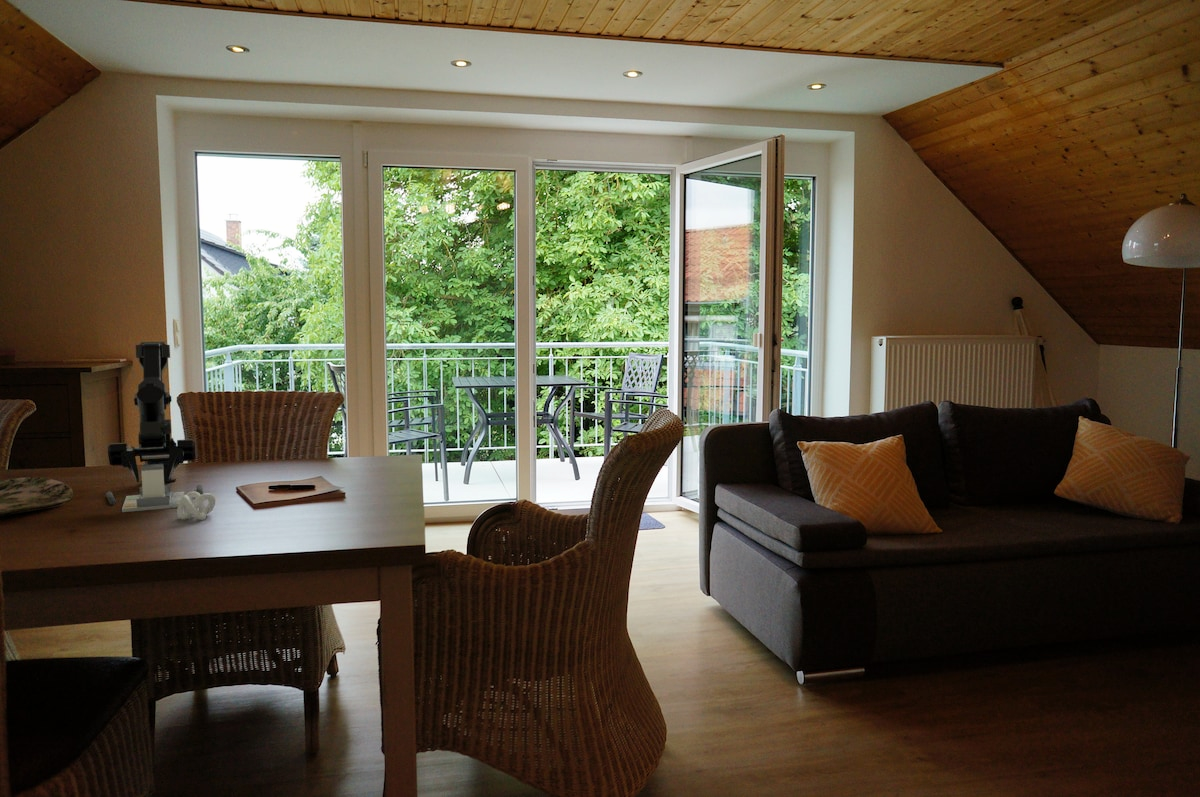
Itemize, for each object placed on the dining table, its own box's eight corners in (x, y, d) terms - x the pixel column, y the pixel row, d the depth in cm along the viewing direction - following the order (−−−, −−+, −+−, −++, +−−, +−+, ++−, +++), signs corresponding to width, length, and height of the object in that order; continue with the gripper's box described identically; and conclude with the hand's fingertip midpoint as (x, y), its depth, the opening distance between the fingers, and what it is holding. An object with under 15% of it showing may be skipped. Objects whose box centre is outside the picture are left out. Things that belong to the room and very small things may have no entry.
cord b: (105, 496, 214) (105, 491, 214) (112, 496, 215) (111, 490, 215) (109, 505, 204) (109, 500, 204) (116, 505, 205) (116, 499, 204)
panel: (126, 499, 211) (125, 488, 211) (184, 494, 217) (183, 483, 217) (122, 512, 197) (121, 500, 197) (184, 506, 203) (183, 495, 202)
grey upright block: (144, 502, 204) (142, 464, 203) (164, 500, 206) (163, 463, 205) (143, 505, 200) (141, 467, 199) (164, 503, 202) (162, 466, 201)
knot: (209, 512, 197) (208, 488, 197) (222, 518, 192) (221, 493, 191) (174, 517, 192) (173, 492, 192) (187, 523, 186) (185, 498, 186)
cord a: (196, 489, 223) (196, 484, 223) (202, 489, 224) (202, 483, 224) (197, 498, 212) (196, 493, 212) (203, 497, 213) (202, 492, 213)
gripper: (106, 410, 201) (104, 463, 192) (193, 407, 209) (195, 457, 200) (110, 438, 209) (109, 490, 200) (194, 434, 217) (196, 484, 208)
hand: (153, 480), depth 202 cm, fingers open, 6 cm apart
